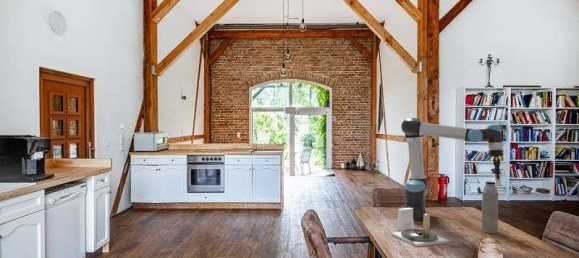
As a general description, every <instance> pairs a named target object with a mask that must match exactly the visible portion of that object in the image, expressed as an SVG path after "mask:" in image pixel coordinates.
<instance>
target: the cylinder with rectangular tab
mask: <svg viewBox="0 0 579 258" xmlns="http://www.w3.org/2000/svg"><path fill="white" fill-rule="evenodd" d="M397 214H398V216H397V221H396V223H397V224H396V225H397V226H396V227H397V228H396V230H397V231H398V232H402V231H403V230H406V229H415V220H414V219H413V208H404V207H403V208H398V211H397Z"/></svg>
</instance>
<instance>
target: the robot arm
mask: <svg viewBox="0 0 579 258" xmlns="http://www.w3.org/2000/svg"><path fill="white" fill-rule="evenodd" d="M400 127H401V131H402V133H403V134H404V138H405V140H406V141H407V146H408V156H409V157H408V158H409V169H410V176H409V178H408V180H407V181H406V182H405V186H404V188H405V192H404V193H405V205H404V207H403V208H413V219H414V221H423V215H424V214H427V211H426V208H425V197H426V196H427V195H428V194H429V191H430V185H429V183H428V177H427V176H426V175H425V170H424V169H425V168H424V158H423V147H422V139H423V138H424V136H432V137H436V138H437V137H439V138H444V139H452V140H460V141H467V142H472V143H478V142H487V141H488V143H487V144H488V150H489V151H488V156H489V157H491V158H492V157H493V159H492V162H493V167H494V172H493V174H494V178H495V180H494V181H495V186H502V179H501V178H502V177H501V175H502V172H501V171H500V169H501V168H500V166H501V159H500V157H503V156H504V150H503V149H504V148H503V147H504V144H503V135H502V134H503V132H502V126H501V125H500V124H489V125H487V127H486V128H481V129H480V128H477V129H474V128H468V127H467V128H466V127H459V126H452V125H445V124H444V125H443V124H436V123H429V122H425V121H424V120H421V119H419V118H416V117H408V118H405V119H404V120H403V121H402V123H401V126H400Z"/></svg>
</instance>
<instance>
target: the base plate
mask: <svg viewBox="0 0 579 258" xmlns="http://www.w3.org/2000/svg"><path fill="white" fill-rule="evenodd" d="M401 232H402V231H396V232H391V236H392V237H395V238H397V239H400V240H401V241H404V242H406V243H408V244H410V245H412V246H413V247H414V246H415V247H425V246H431V245H439V244H447V243H449V239H446V238H444V237H442V236H439V235H438V239H437V240H435V241H415V240H413V237H412V236H411V237H410V239H407V238H405V237H403V236H402V235H401Z"/></svg>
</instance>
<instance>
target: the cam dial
mask: <svg viewBox="0 0 579 258" xmlns="http://www.w3.org/2000/svg"><path fill="white" fill-rule="evenodd" d="M422 221H423V222H422V223H423V225H422V228H423V229H419V228H414V229H406V230H403V231H400V232H401V235H402V236H403V237H405V238H407V239H410V237H411V236H412V237H413V240H415V241H435V240H437V239H438V236H439V235H438V234H437V233H435V232H434V231H430V230H431V229H430V224H431V223H430V222H431V214H430V213H426V214H424V215H423V220H422Z"/></svg>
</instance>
